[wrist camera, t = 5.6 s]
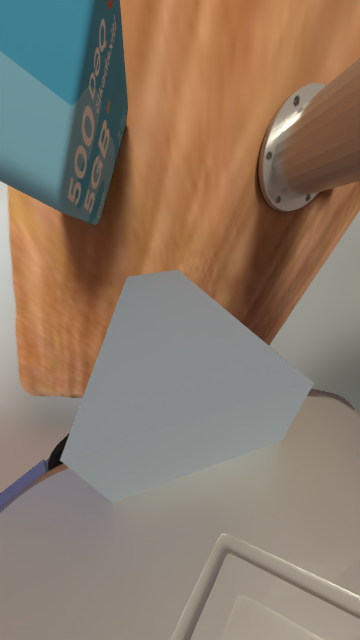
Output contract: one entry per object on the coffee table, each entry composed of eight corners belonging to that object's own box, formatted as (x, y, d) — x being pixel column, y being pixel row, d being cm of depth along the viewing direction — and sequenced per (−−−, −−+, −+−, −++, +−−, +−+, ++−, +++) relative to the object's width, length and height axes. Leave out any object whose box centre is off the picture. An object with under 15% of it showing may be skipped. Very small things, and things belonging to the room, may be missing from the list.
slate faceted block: (177, 269, 12) (313, 383, 3) (185, 360, 17) (242, 511, 8) (127, 276, 11) (60, 459, 2) (150, 368, 16) (164, 545, 7)
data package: (98, 226, 20) (56, 211, 10) (58, 206, 18) (-47, 159, 8) (129, 113, 16) (113, -114, 6) (82, 72, 14) (-60, -362, 4)
